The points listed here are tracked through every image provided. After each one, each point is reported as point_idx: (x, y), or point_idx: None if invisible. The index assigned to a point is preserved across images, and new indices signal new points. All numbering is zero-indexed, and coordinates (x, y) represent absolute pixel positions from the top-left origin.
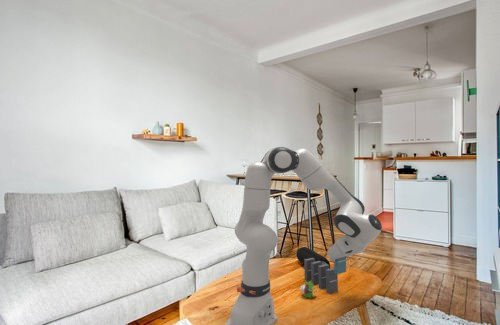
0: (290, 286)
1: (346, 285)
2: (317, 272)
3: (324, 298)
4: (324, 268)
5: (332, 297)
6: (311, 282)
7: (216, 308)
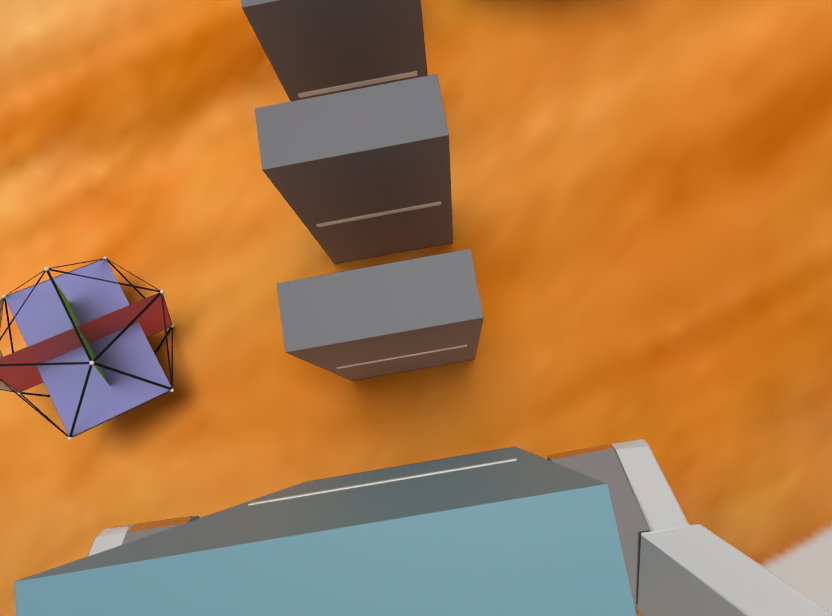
0: (89, 105)
1: (647, 275)
2: (348, 77)
3: (244, 452)
4: (345, 170)
5: (333, 464)
6: None
7: None
